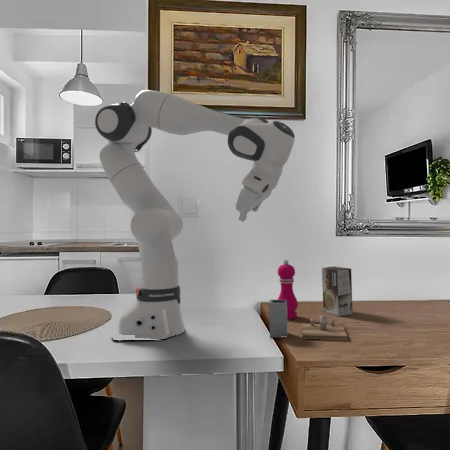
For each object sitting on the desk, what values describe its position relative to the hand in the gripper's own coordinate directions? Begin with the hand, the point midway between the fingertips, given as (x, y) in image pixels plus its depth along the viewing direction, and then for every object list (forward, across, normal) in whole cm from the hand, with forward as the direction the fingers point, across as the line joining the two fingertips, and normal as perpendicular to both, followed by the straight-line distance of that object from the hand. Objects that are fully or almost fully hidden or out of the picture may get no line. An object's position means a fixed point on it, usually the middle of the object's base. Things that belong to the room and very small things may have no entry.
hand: (248, 215), depth 119 cm
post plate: (+18, +8, +37) cm, 42 cm away
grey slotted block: (+23, +13, +26) cm, 37 cm away
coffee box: (+26, -17, +40) cm, 51 cm away
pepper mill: (+30, -5, +26) cm, 40 cm away
